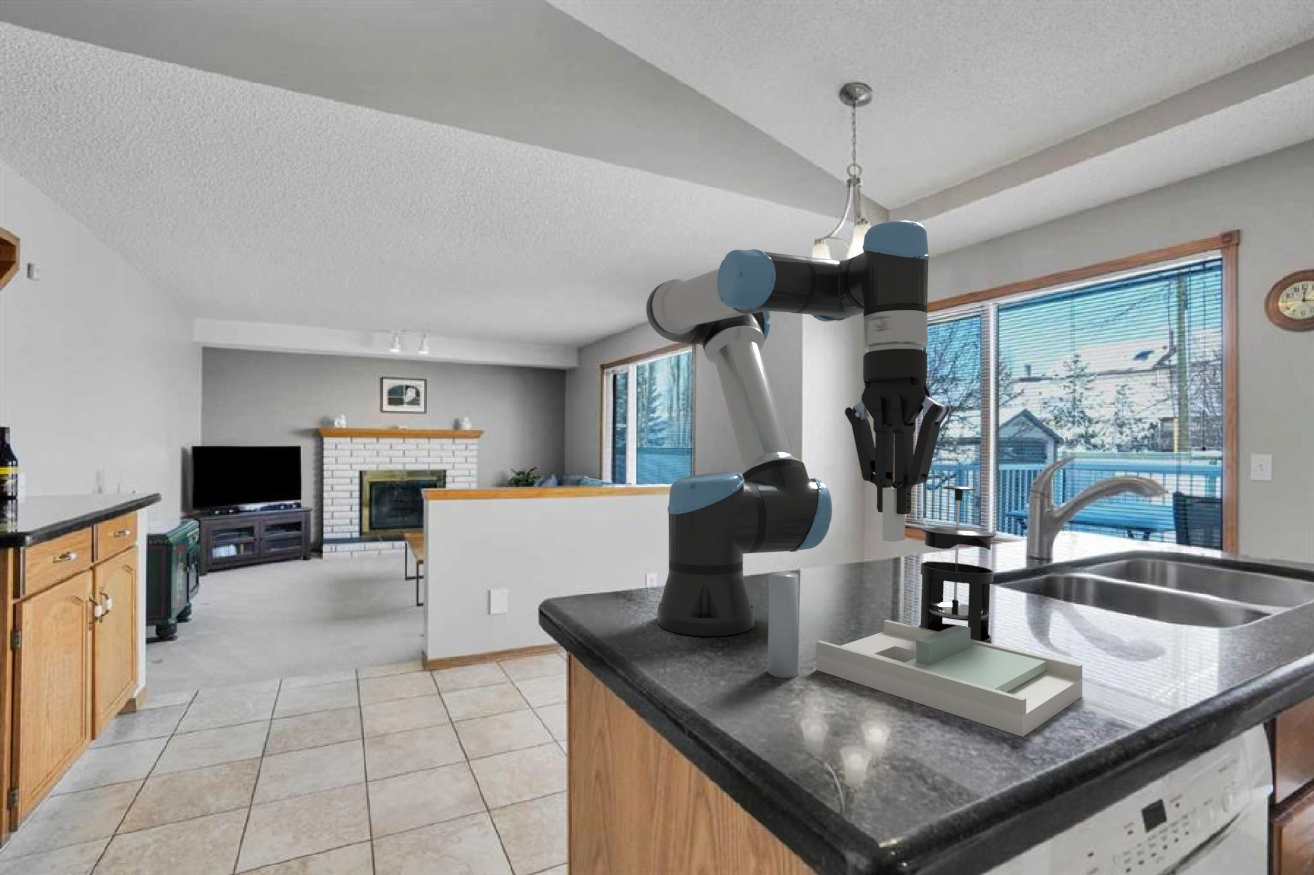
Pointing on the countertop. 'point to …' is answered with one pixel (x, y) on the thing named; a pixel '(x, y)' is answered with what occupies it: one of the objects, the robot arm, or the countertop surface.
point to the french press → (956, 579)
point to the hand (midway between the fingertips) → (893, 539)
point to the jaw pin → (783, 624)
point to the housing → (951, 680)
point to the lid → (973, 660)
